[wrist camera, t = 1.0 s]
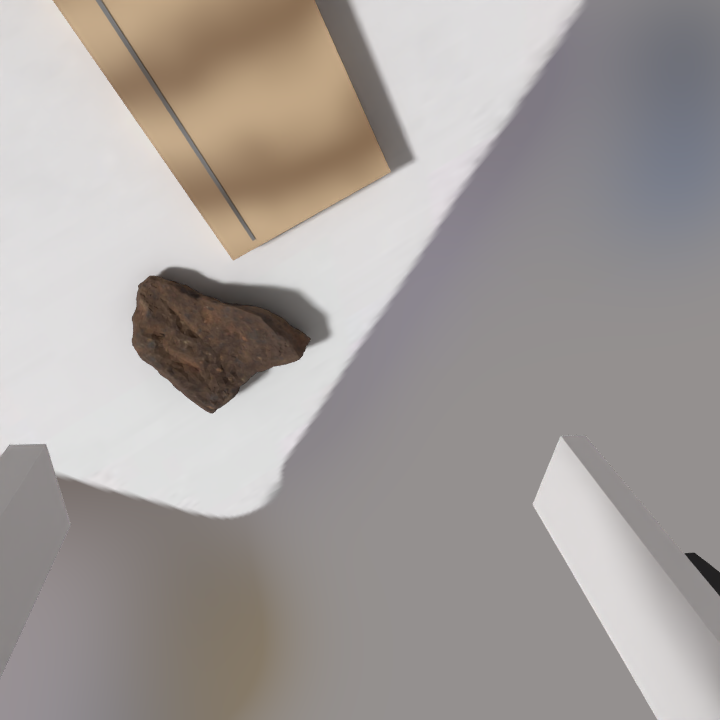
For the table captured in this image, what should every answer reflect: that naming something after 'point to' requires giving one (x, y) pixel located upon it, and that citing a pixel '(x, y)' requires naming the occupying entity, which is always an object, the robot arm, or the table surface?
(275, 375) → the table surface
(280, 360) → the rock
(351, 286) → the table surface
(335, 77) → the board
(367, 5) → the table surface
